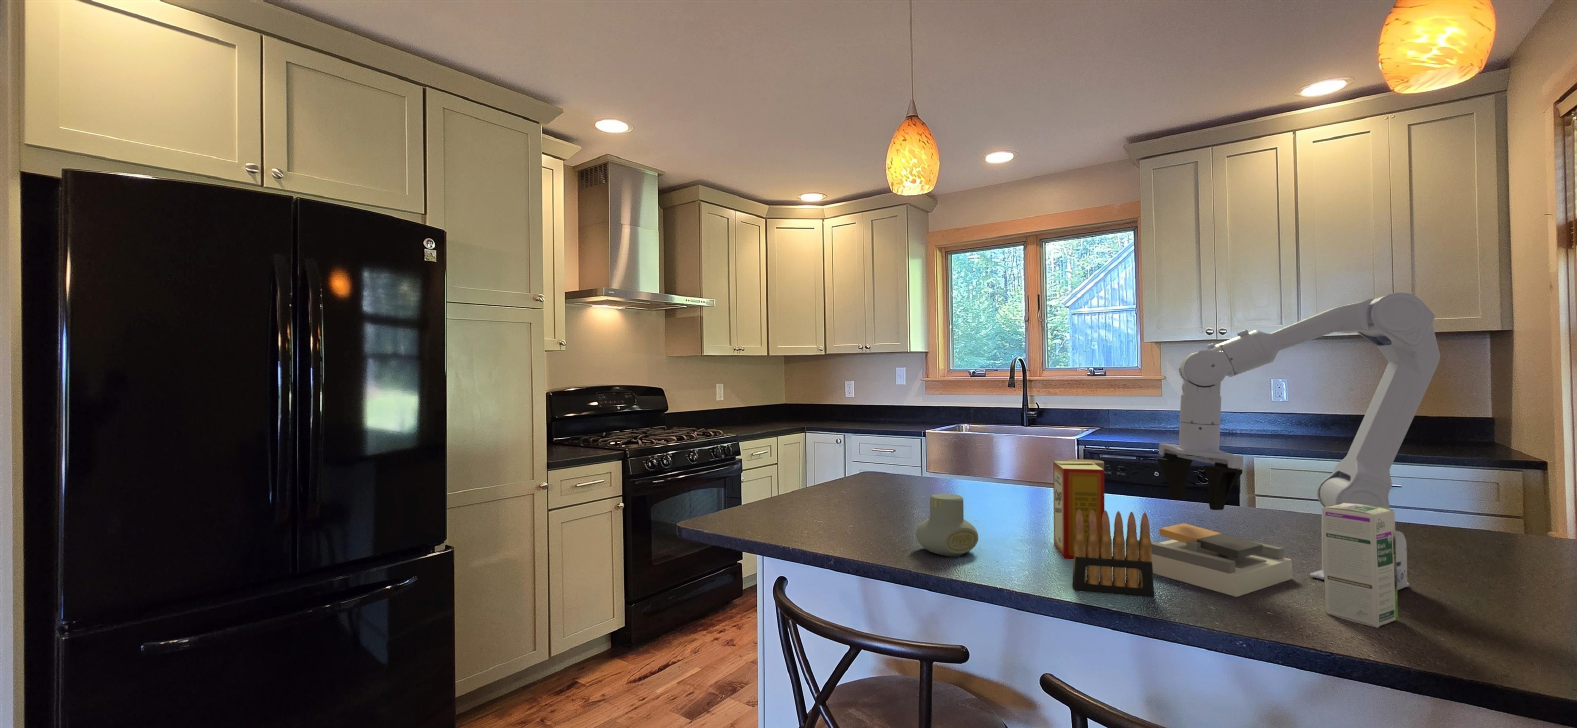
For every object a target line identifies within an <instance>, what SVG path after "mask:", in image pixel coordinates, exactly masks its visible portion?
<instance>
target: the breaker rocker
mask: <svg viewBox="0 0 1577 728" xmlns="http://www.w3.org/2000/svg"><path fill="white" fill-rule="evenodd" d="M1158 535H1159V536H1161V537H1164V538H1167V539H1169V540H1176V541H1180V542H1183V543H1186V544H1187V541H1194V542H1199V543H1201V548H1203V549H1206V550H1210V551H1213V552H1217V553H1220V554H1223V555H1227V556H1230V557H1233V558H1237V559H1239V558H1243V557H1247V556H1250V555H1254V554H1258V553H1261V552H1262V549H1263V545H1262V544H1259V543H1260V542H1258V543H1255V542H1256V541H1253V542H1251V541H1252V540H1248V539H1242V538H1241V537H1235V536H1234V535H1233V536H1232V535H1229V534H1224V533H1222V532H1217V531H1214V530H1210V529H1207V528H1203V527H1199V526H1195V525H1192V524H1188V523H1183V522H1182V523H1179V524H1174V525H1169V526H1165V527H1160V528H1159V533H1158Z"/></svg>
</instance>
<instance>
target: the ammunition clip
mask: <svg viewBox="0 0 1577 728" xmlns="http://www.w3.org/2000/svg"><path fill="white" fill-rule="evenodd" d="M1110 522H1111V521H1110V517H1109V513H1108V511H1107V510H1106V509H1105V511H1104V513H1103V516H1102V522H1101V536H1100V555H1099V540H1098V535H1097V522H1096V516H1095V513H1094V511H1093V510H1091V512H1090V515H1089V521H1088V535H1087V554H1086V540H1085V534H1084V522H1083V516H1082V512H1081V510H1080V509H1079V510H1078V511H1077V515H1076V520H1075V534H1074V560H1073V561H1072V563H1073V565H1072V582H1071V583H1072V584H1071V585H1072V589H1073V591H1074V592H1079V591H1082V592H1081V593H1092V594H1093V593H1094V594H1103V595H1104V594H1106V595H1115V596H1117V595H1118V596H1127V597H1128V596H1130V597H1140V598H1141V597H1143V598H1152V599H1153V598H1154V597H1155V585H1154V573H1153V567H1152V546H1151V541H1152V540H1151V530H1150V521H1149V518H1148V514H1147V512H1145V511H1144V512H1143V513H1142V517H1141V520H1140V526H1139V527H1140V531H1139V539H1138V533H1137V523H1136V518H1135V515H1134V512H1133V511H1130V513H1129V515H1128V518H1127V525H1126V526H1127V527H1126V537H1124V536H1125V535H1124V534H1125V533H1124V524H1123V523H1124V522H1123V517H1122V514H1121V512H1120V511H1119V510H1117V511H1116V514H1115V517H1114V523H1113V529H1114V530H1113V537H1112V536H1111V523H1110ZM1138 540H1139V558H1138Z"/></svg>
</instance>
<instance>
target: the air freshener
mask: <svg viewBox="0 0 1577 728" xmlns="http://www.w3.org/2000/svg"><path fill="white" fill-rule="evenodd" d="M964 516H965V515H964V497H962V496H961V495H959V494H955V493H935V494H934V493H933V494H932V495H931V496H930V497H929V517H928V518H927V519H925V520H923V521H922V522H920V524H918V526H917V528H916V530H915V537H916V540H917V542H918V544H919V545H920V546H921V547H922V548H924V549H925V550H927V551H928V552H930V553H933V554H936V555H940V556H945V557H952V558H953V557H954V558H955V557H960V556H963V555H965V554H966V553H969V552H970V551H971V550H973V549H974V548H975V547H976V546H977V544H978V541H979V533H978V530H977V529H976V527H975V526H974V525H973V524H972V523H970V522H969V521H967V519H965V518H964Z"/></svg>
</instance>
